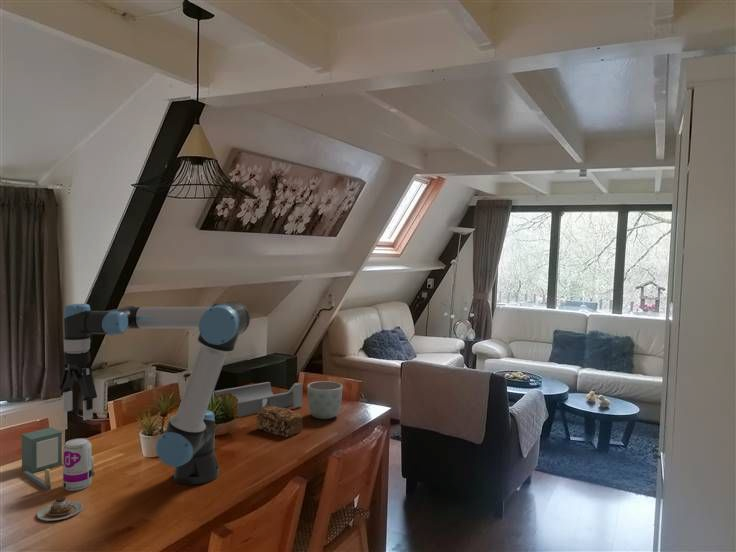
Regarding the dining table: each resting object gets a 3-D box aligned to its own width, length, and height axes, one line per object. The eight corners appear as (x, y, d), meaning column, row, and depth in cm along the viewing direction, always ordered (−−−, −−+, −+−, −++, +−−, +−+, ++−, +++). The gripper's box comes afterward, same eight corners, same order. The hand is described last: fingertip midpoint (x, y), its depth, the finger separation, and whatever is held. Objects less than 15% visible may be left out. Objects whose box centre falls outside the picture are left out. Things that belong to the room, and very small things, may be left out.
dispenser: (94, 475, 188) (94, 441, 188) (46, 491, 175) (46, 454, 175) (59, 456, 203) (59, 425, 203) (12, 469, 191) (12, 436, 190)
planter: (348, 415, 263) (349, 384, 262) (327, 424, 249) (328, 392, 248) (321, 409, 272) (321, 379, 271) (299, 417, 258) (300, 386, 257)
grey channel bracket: (268, 394, 297) (268, 372, 297) (302, 408, 274) (302, 384, 273) (212, 405, 275) (212, 381, 274) (244, 421, 251) (244, 394, 251)
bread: (255, 429, 240) (255, 407, 239) (272, 423, 249) (272, 402, 248) (287, 438, 229) (287, 415, 229) (303, 432, 238) (304, 409, 238)
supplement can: (79, 493, 175) (79, 447, 174) (57, 490, 176) (57, 444, 176) (96, 482, 183) (96, 438, 182) (75, 479, 184) (75, 436, 183)
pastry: (71, 523, 156) (71, 508, 156) (28, 524, 155) (28, 508, 155) (89, 504, 168) (89, 489, 168) (49, 504, 167) (49, 490, 167)
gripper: (108, 354, 173) (108, 419, 174) (70, 344, 187) (71, 405, 189) (84, 358, 167) (84, 425, 168) (47, 347, 181) (48, 410, 183)
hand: (77, 415), depth 178 cm, fingers open, 13 cm apart
